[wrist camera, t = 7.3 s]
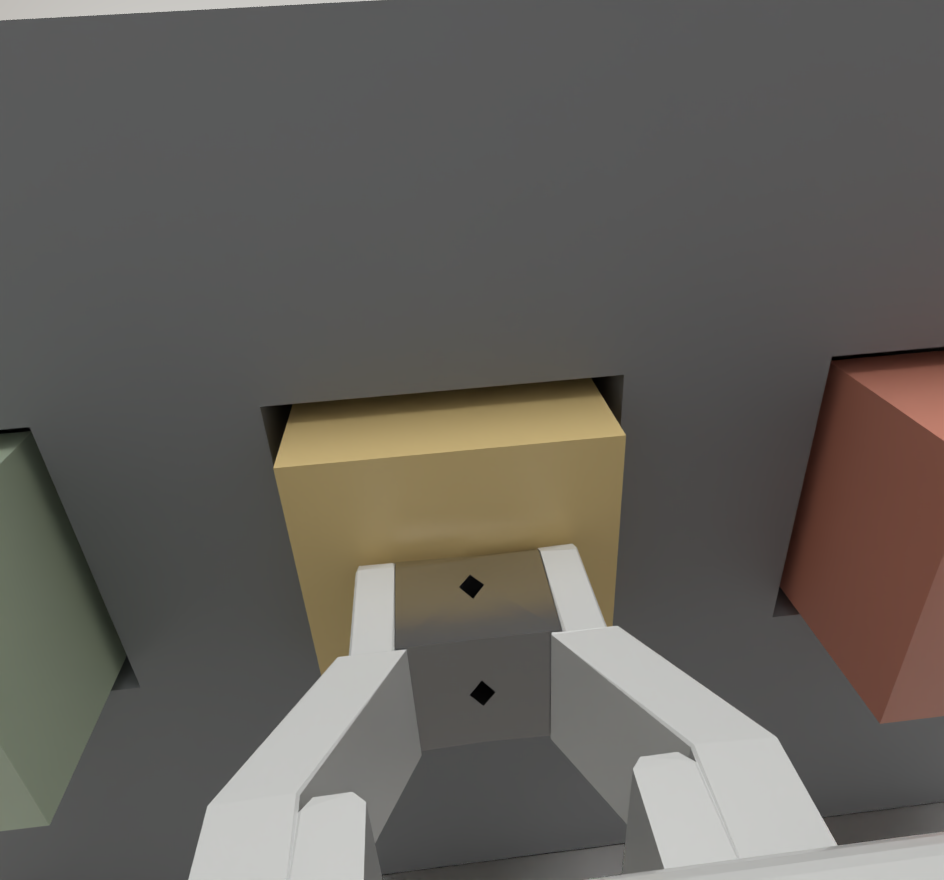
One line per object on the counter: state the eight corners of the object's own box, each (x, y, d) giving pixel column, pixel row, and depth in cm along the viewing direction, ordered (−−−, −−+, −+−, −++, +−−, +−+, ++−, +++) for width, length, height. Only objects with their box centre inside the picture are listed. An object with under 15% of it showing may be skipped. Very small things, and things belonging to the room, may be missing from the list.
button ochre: (609, 677, 11) (625, 435, 9) (329, 709, 10) (273, 468, 8) (567, 556, 13) (572, 347, 11) (343, 580, 13) (302, 370, 11)
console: (996, 794, 16) (1461, -58, 8) (-85, 935, 14) (-874, 66, 6) (812, 568, 23) (956, -1, 15) (73, 648, 21) (-206, 64, 13)
